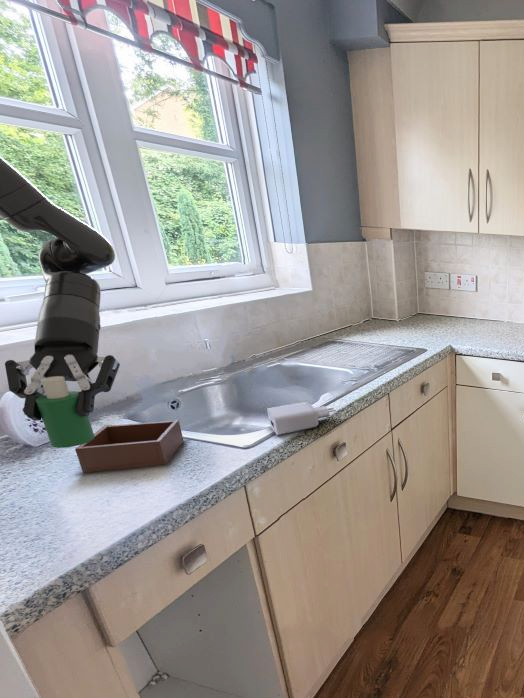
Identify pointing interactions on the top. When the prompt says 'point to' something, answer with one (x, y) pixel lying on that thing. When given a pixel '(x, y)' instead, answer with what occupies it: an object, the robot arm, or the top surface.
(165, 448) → the tray
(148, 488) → the top surface
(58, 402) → the green bottle
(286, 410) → the charger
